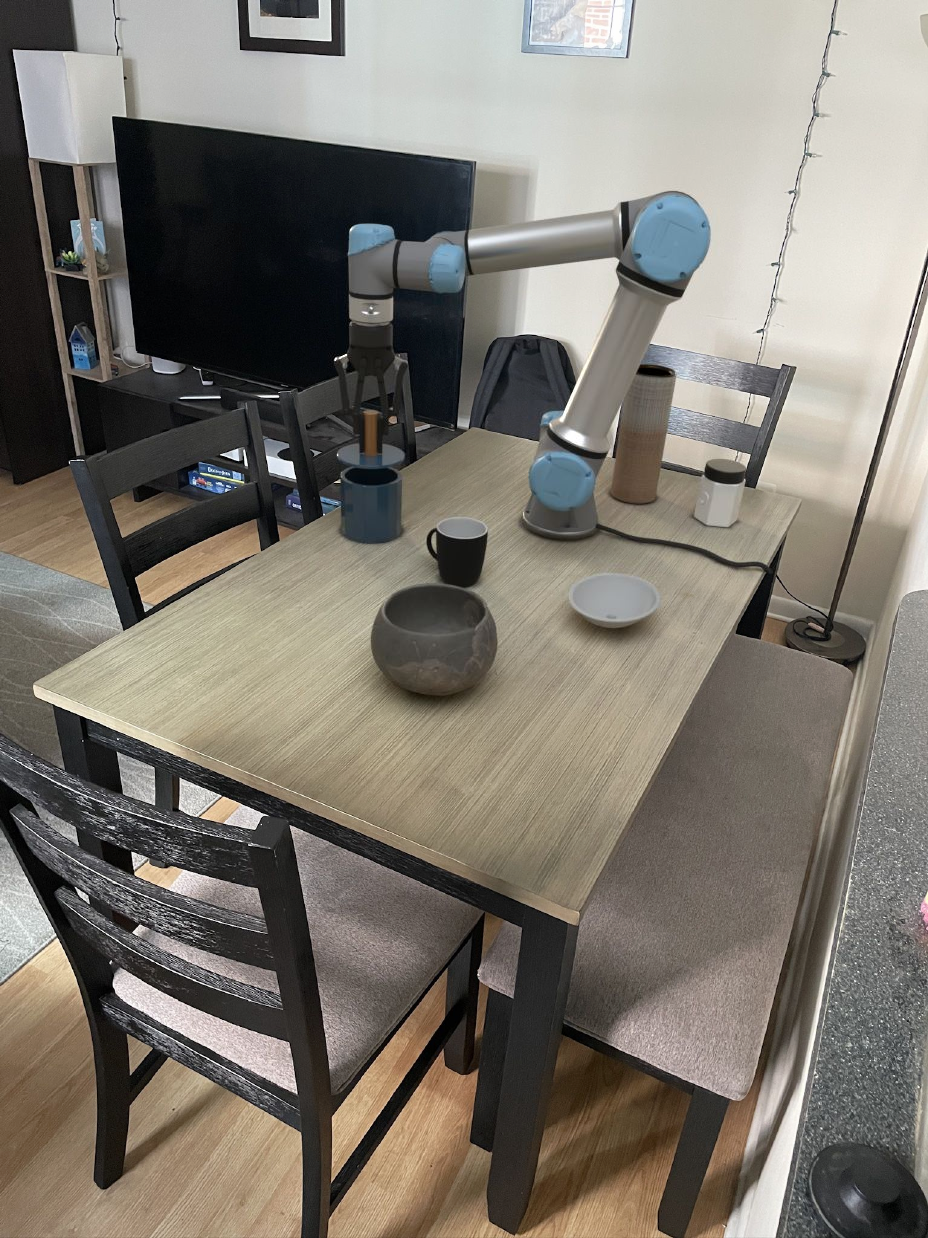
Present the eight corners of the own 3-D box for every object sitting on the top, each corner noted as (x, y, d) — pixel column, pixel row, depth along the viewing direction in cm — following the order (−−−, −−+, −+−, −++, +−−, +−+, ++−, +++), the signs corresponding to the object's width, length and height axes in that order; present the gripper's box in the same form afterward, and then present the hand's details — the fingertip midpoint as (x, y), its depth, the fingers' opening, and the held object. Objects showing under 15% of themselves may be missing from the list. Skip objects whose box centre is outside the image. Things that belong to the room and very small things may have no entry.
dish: (626, 659, 139) (631, 631, 136) (546, 628, 145) (549, 602, 143) (671, 615, 152) (676, 589, 149) (596, 589, 158) (599, 564, 156)
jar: (686, 513, 190) (696, 459, 184) (717, 508, 193) (728, 456, 187) (711, 530, 183) (723, 475, 177) (743, 525, 186) (756, 471, 180)
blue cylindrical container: (413, 531, 176) (414, 476, 170) (370, 548, 168) (370, 491, 162) (372, 513, 182) (372, 459, 176) (329, 529, 174) (327, 474, 168)
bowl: (510, 708, 126) (517, 632, 119) (385, 726, 121) (385, 647, 115) (473, 643, 140) (478, 572, 134) (360, 656, 136) (359, 583, 129)
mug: (494, 578, 160) (498, 526, 155) (464, 596, 154) (467, 543, 148) (441, 558, 166) (443, 507, 161) (410, 574, 159) (412, 522, 154)
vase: (627, 483, 203) (646, 361, 189) (664, 497, 198) (686, 371, 184) (601, 494, 197) (618, 368, 183) (638, 508, 191) (659, 379, 177)
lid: (418, 461, 168) (419, 413, 164) (370, 477, 160) (370, 427, 155) (371, 443, 175) (371, 397, 171) (323, 458, 167) (321, 410, 162)
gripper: (323, 324, 151) (326, 456, 163) (417, 328, 152) (413, 459, 164) (326, 314, 157) (329, 442, 169) (416, 318, 159) (412, 445, 171)
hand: (370, 450), depth 167 cm, fingers closed on lid, 3 cm apart
